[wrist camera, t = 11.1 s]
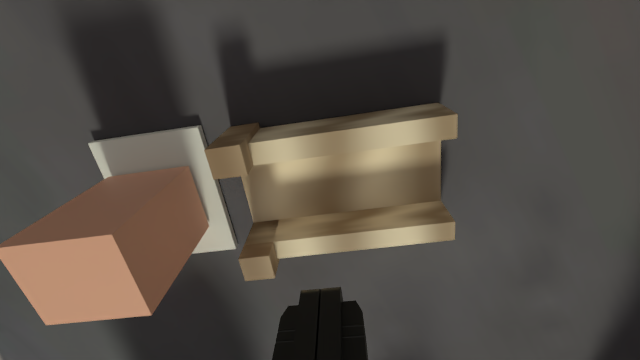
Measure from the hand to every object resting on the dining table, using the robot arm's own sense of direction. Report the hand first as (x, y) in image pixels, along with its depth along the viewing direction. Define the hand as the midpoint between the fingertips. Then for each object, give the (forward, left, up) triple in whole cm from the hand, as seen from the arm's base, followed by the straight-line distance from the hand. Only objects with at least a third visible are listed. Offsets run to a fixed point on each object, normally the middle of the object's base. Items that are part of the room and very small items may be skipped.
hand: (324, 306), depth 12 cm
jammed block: (+12, 0, -12) cm, 17 cm away
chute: (-1, 0, -12) cm, 12 cm away
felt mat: (+12, 0, -12) cm, 17 cm away
